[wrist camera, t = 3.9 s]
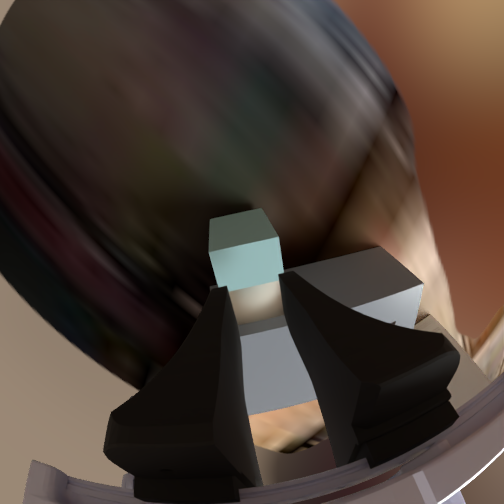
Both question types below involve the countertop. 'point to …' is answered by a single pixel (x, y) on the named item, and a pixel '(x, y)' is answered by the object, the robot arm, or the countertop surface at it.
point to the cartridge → (248, 264)
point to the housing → (340, 289)
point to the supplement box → (468, 373)
